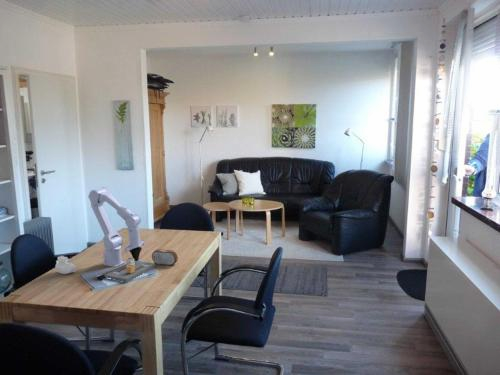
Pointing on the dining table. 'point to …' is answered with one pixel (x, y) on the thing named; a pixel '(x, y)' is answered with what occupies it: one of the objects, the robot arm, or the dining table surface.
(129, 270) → the block
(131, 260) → the pale fader
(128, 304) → the dining table surface
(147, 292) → the dining table surface
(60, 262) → the white irregular lump
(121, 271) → the fader board
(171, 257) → the tin
